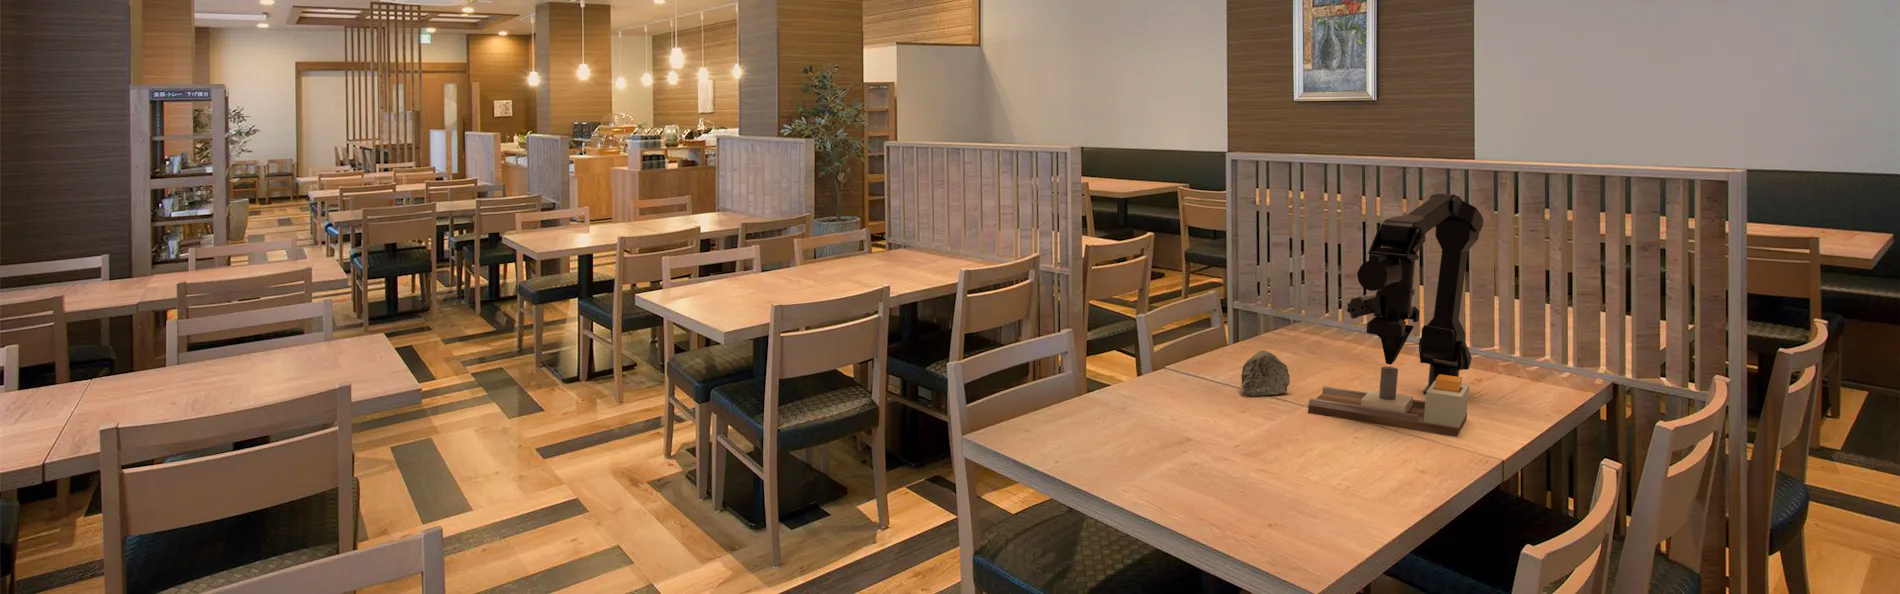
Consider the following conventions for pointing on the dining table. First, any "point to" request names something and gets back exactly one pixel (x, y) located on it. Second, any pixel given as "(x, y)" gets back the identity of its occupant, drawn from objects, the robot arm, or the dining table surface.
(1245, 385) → the stone
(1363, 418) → the track
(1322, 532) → the dining table surface
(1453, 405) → the button housing
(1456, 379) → the button
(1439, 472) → the dining table surface
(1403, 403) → the carriage
